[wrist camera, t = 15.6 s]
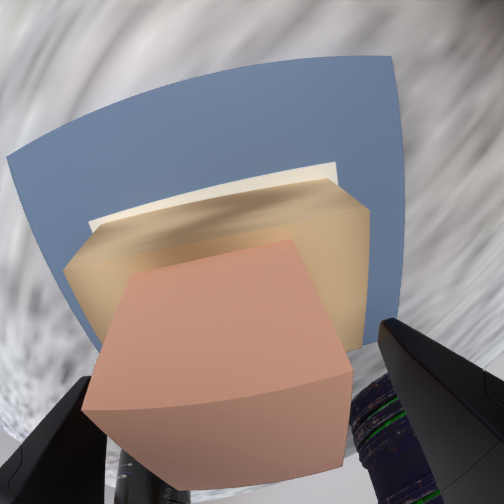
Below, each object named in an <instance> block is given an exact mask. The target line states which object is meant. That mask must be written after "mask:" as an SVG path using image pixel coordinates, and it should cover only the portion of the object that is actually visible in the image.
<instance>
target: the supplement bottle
mask: <svg viewBox="0 0 504 504" xmlns="http://www.w3.org/2000/svg"><path fill="white" fill-rule="evenodd" d="M114 504H191V490H185V491H178V490H177V489H175V488H174V487H172V486H171V485H169V484H168V483H166V482H165V481H163V480H162V479H161V478H159V477H158V476H156V475H155V474H154V473H152V472H151V471H150V470H148V469H147V468H146V467H144V466H143V465H142V464H141V463H139V462H138V461H137V460H135V459H134V458H133V457H132V456H131V455H129V454H128V453H127V452H126V451H125V450H123V449H122V448H121V453H120V459H119V466H118V473H117V481H116V489H115V497H114Z"/></svg>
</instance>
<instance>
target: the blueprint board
mask: <svg viewBox="0 0 504 504" xmlns="http://www.w3.org/2000/svg"><path fill="white" fill-rule="evenodd" d="M6 158H7V161H8V165H9V168H10V171H11V175H12V178H13V181H14V184H15V187H16V190H17V193H18V195H19V198H20V201H21V204H22V206H23V209H24V212H25V214H26V217H27V219H28V222H29V224H30V227H31V229H32V231H33V234H34V236H35V238H36V241H37V243H38V245H39V247H40V250H41V252H42V254H43V256H44V258H45V260H46V262H47V264H48V266H49V268H50V270H51V272H52V274H53V276H54V278H55V280H56V282H57V284H58V286H59V288H60V290H61V291H62V293H63V295H64V297H65V299H66V300H67V302H68V304H69V306H70V307H71V309H72V311H73V312H74V314H75V316H76V318H77V319H78V321H79V322H80V324H81V326H82V327H83V329H84V330H85V332H86V334H87V335H88V337H89V338H90V340H91V341H92V343H93V344H94V346H95V347H96V349H97V350H98V352H99V353H100V351H101V349H102V346H103V345H102V343H101V342H100V340H99V338H98V337H97V335H96V333H95V332H94V330H93V328H92V326H91V325H90V323H89V321H88V319H87V318H86V316H85V314H84V312H83V310H82V308H81V306H80V305H79V303H78V301H77V299H76V297H75V295H74V293H73V291H72V289H71V287H70V285H69V283H68V281H67V279H66V277H65V274H64V272H63V270H64V268H65V267H66V266H67V264H68V263H69V262H70V261H71V259H72V258H73V257H74V255H75V254H76V253H77V252H78V251H79V249H80V248H81V247H82V246H83V244H84V243H85V242H86V241H87V240H88V238H89V237H90V236H91V235H92V234H93V233H94V231H95V230H96V229H97V228H98V227H99V226H100V224H103V223H107V222H111V221H115V220H119V219H122V218H126V217H130V216H135V215H139V214H143V213H147V212H151V211H155V210H160V209H164V208H169V207H173V206H177V205H182V204H187V203H191V202H196V201H201V200H205V199H210V198H215V197H220V196H225V195H230V194H236V193H241V192H246V191H252V190H257V189H263V188H269V187H274V186H280V185H286V184H292V183H299V182H305V181H312V180H318V179H325V178H328V179H330V180H331V181H333V182H334V183H335V184H337V185H338V186H339V187H341V188H342V189H343V190H344V191H346V192H347V193H348V194H350V195H351V196H352V197H353V198H355V199H356V200H357V201H359V202H360V203H361V204H362V205H364V206H365V207H366V208H367V209H369V210H370V243H369V270H368V288H367V302H366V313H365V324H364V334H363V342H362V346H363V345H367V344H370V343H373V342H376V341H378V333H379V324H380V322H381V321H382V320H385V319H388V318H391V317H393V318H396V319H397V313H398V305H399V296H400V287H401V276H402V264H403V248H404V223H405V182H404V157H403V142H402V129H401V119H400V110H399V102H398V94H397V87H396V81H395V74H394V69H393V63H392V58H391V56H336V57H319V58H306V59H296V60H287V61H279V62H272V63H265V64H258V65H252V66H246V67H241V68H236V69H231V70H226V71H221V72H216V73H212V74H208V75H203V76H199V77H195V78H191V79H188V80H184V81H180V82H177V83H173V84H170V85H166V86H163V87H160V88H157V89H153V90H150V91H147V92H144V93H141V94H138V95H135V96H133V97H130V98H127V99H124V100H122V101H119V102H116V103H114V104H111V105H109V106H106V107H104V108H101V109H99V110H96V111H94V112H92V113H89V114H87V115H85V116H83V117H80V118H78V119H76V120H74V121H72V122H70V123H67V124H65V125H63V126H61V127H59V128H57V129H55V130H53V131H51V132H49V133H47V134H45V135H44V136H42V137H40V138H38V139H36V140H34V141H32V142H31V143H29V144H27V145H25V146H24V147H22V148H20V149H19V150H17V151H15V152H14V153H12V154H10V155H9V156H7V157H6Z"/></svg>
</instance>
